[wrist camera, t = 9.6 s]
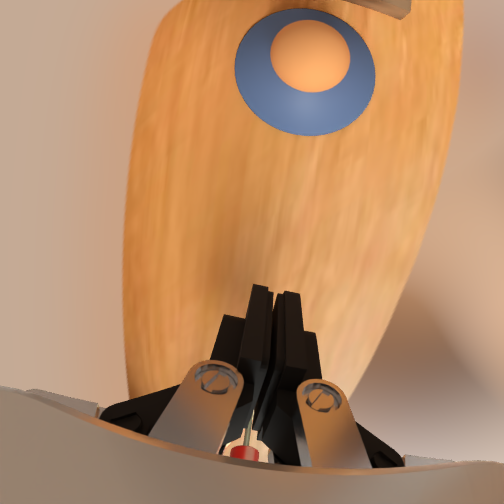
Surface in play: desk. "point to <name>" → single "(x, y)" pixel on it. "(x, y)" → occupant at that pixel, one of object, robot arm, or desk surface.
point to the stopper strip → (387, 6)
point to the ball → (310, 56)
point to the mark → (295, 101)
